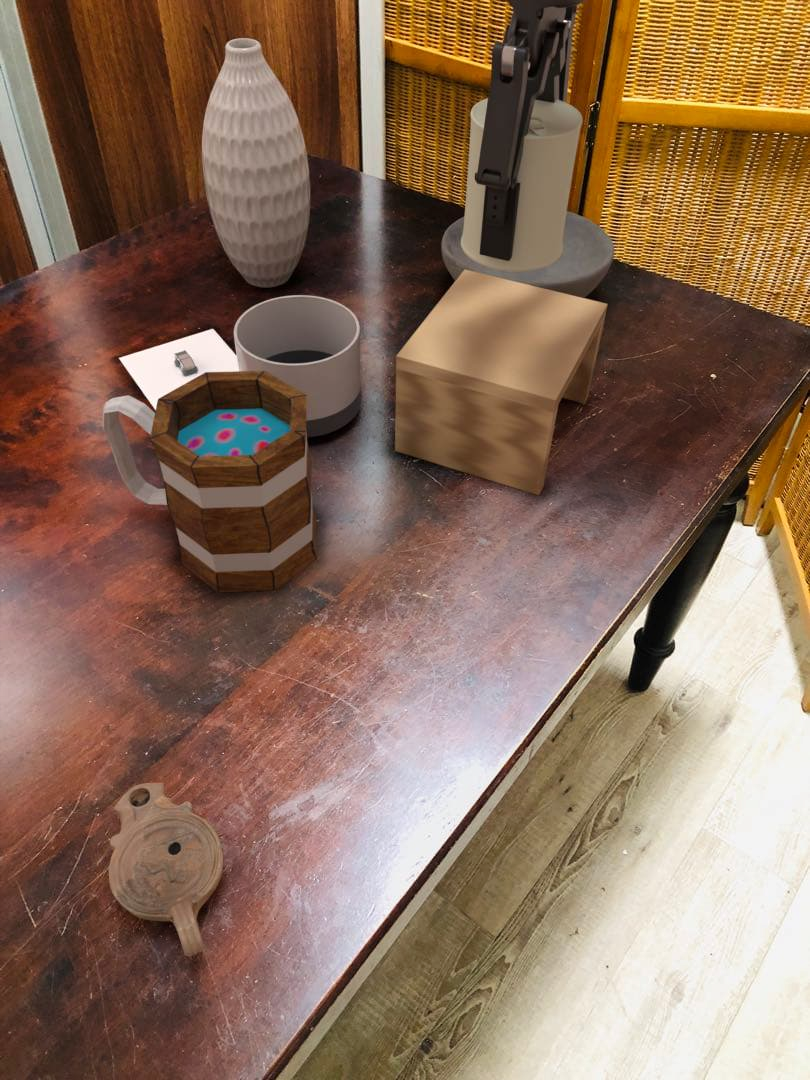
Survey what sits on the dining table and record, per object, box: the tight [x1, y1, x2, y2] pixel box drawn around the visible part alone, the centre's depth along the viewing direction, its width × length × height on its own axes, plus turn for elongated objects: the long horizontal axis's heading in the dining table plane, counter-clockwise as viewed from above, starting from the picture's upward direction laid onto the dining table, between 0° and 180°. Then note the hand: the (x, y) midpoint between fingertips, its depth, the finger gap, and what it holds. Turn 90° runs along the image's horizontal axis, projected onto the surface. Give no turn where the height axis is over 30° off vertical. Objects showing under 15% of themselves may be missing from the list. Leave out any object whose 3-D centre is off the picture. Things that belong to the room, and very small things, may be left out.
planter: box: [233, 294, 362, 439], centre depth 94 cm, size 13×13×10 cm
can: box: [461, 97, 583, 272], centre depth 76 cm, size 9×9×12 cm
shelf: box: [394, 270, 609, 496], centre depth 92 cm, size 16×18×12 cm
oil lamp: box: [108, 782, 224, 958], centre depth 59 cm, size 13×8×5 cm, turn 25°
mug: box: [101, 371, 318, 593], centre depth 79 cm, size 20×14×15 cm
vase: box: [201, 37, 311, 289], centre depth 107 cm, size 13×13×28 cm
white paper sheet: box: [118, 328, 239, 411], centre depth 102 cm, size 12×12×2 cm
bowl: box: [440, 210, 615, 299], centre depth 112 cm, size 21×21×8 cm
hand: (513, 231), depth 79 cm, fingers closed on can, 9 cm apart
